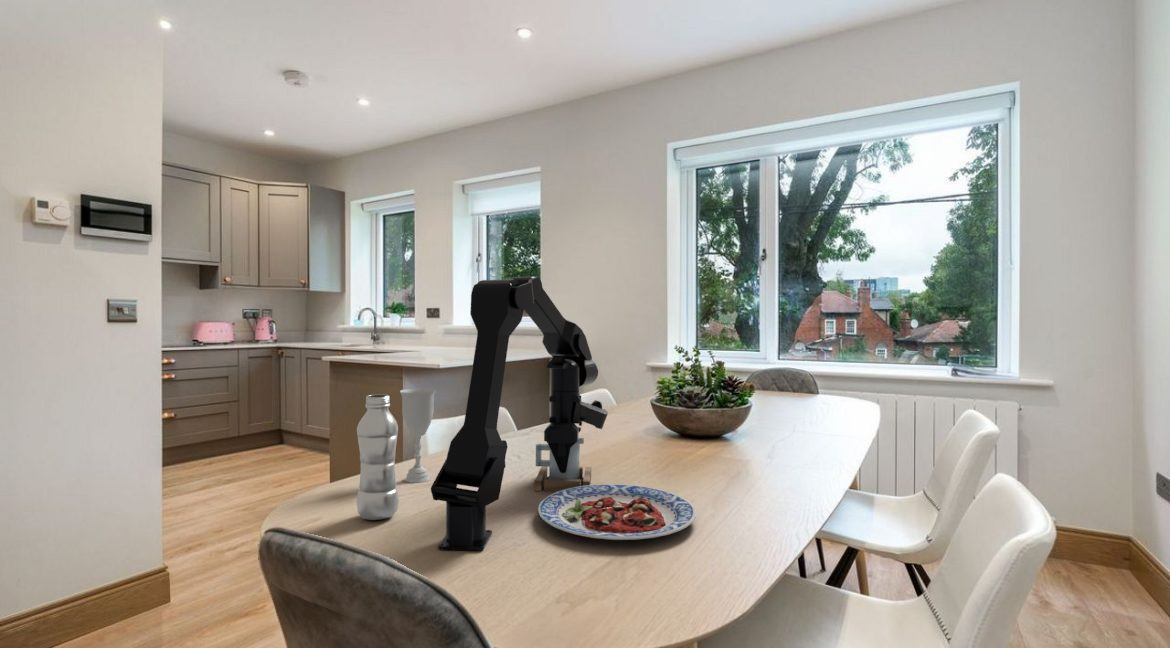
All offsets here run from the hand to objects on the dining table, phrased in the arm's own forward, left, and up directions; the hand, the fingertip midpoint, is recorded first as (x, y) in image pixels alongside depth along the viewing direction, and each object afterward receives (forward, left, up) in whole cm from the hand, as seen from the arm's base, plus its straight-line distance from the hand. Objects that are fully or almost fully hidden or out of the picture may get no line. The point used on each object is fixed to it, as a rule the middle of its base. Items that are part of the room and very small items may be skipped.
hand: (564, 468), depth 112 cm
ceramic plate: (-19, -10, -4) cm, 22 cm away
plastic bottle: (-21, +29, -3) cm, 36 cm away
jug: (0, 0, -3) cm, 3 cm away
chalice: (+1, +30, -3) cm, 30 cm away
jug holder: (0, 0, -3) cm, 3 cm away
